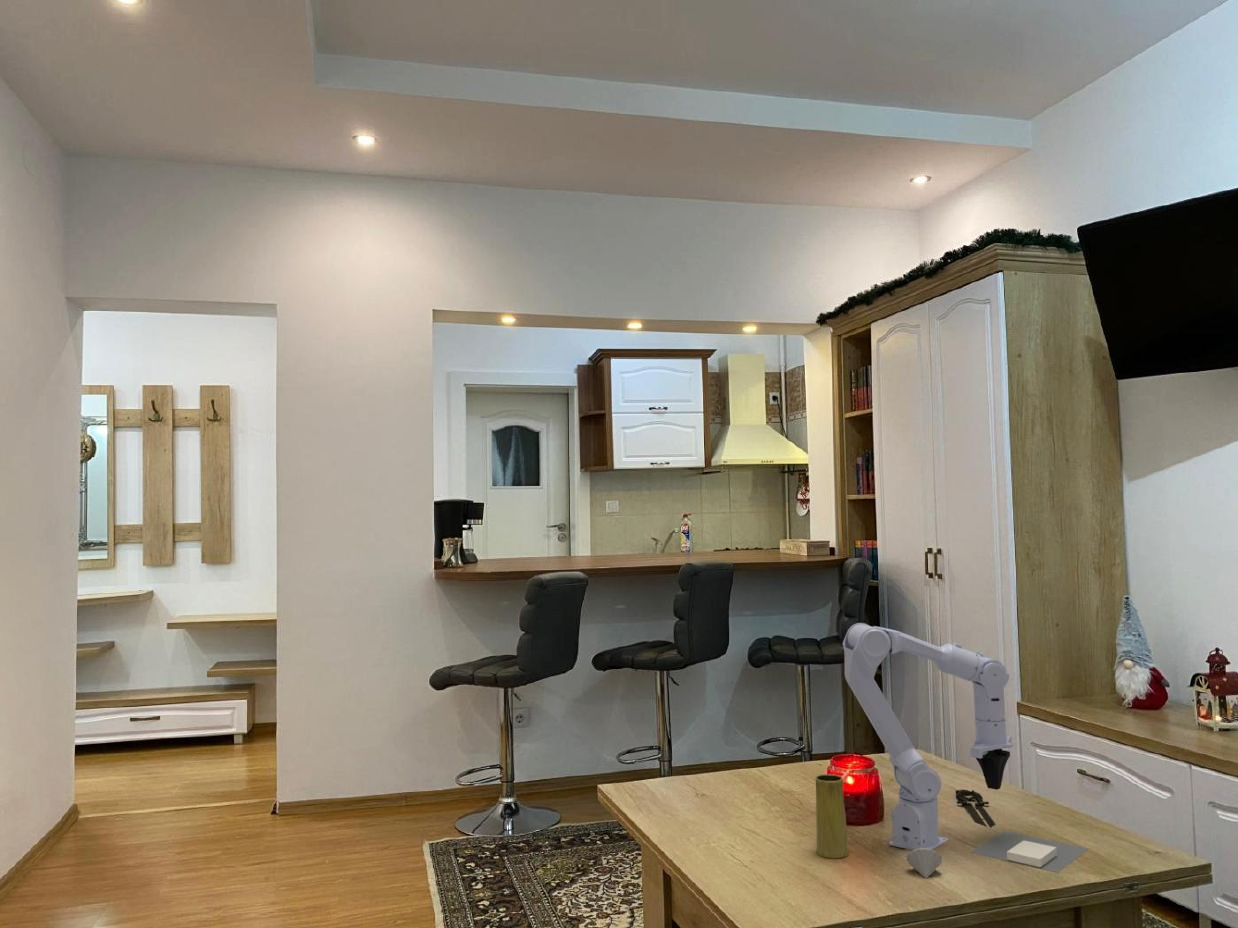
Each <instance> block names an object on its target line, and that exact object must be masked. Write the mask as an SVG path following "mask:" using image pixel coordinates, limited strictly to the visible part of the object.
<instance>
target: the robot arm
mask: <svg viewBox="0 0 1238 928" xmlns="http://www.w3.org/2000/svg"><path fill="white" fill-rule="evenodd" d="M842 646H843V651H844V678H845V681H846V683H847V684H848V686H849V688H850V689H851V691H852V692H853V695H854V697H856V699H857V701H858V703H859V705H860V706H861V708H862V709H863V711H864V713H865V715H866V716H867V718H868V720H869V722H870V724H871V725H872V727H873V728H874V730H875V732H876V735H877V736H878V737H879V739H880V741H881V742H882V745H883V746H884V748H885V749H886V752H887V753H888V755H889V761H890V763H891V764H892V766H893V767H892V768H893V776H894V779H895V780H896V783H898V785H900V786H899V789H898V803H897V804H896V805H895V806H894V807H893V809H892V812H891V827H892V828H891V829H892V840H890V841H888V845H889V846H894V847H897V848H901V849H905V850H911V851H913V850H915V849H920V848H927V849H930V850H933V851H934V849H936V848H938V847H939V846H941V845H943V844H944V843H946V842H949V839H948V838H946V837H941V836H940V826H939V806H938V795H939V794H940V792H941V789H942V780H941V777H940V775H939V774H938V772H937V771H936V770H935V769H933V768H931V767H930V766H929V765H928V763H927V762H926V761H925V759H924V758H923V757H922V756H921V754H920V752H918V750H917V749H916V748H915V746H914V745H913V743H912V742H911V740H910V738H909V736H908V735H907V733H906V731H905V730H904V728H903V725H901V723H900V721H899V720H898V718H897V715H896V714H895V713H894V710H893V709H892V708H891V705H890V704H889V703H888V701H887V698H886V696H885V695H884V693H883V692H882V691H881V688H880V687H879V685H878V683H877V682H876V680H875V676H876V672H877V669H878V667H879V665H881V663H882V662H883V661H884V659H885V658H886V657H887V655H888V654H891V655H894V654H897V653H900V652H904V653H908V654H910V655H914V656H918V657H920V658H923V659H926V660H930V661H932V662H934V663H935V665H936V667H937V669H938V670H939V672H940V671H941V672H942V673H946V674H947V675H951V676H954V677H957V678H959V679H961V680H965V681H968V682H972V684H973V685H972V686H973V705H974V706H973V709H974V725H975V740H974V742H973V744H972V746H969V748H970V751H969V752H970V757H971V758H975V759H976V761H977V762H978V764H979V766H980V769H981V771H982V774H983V778H984V780H985V784H986V787H987V789H991V790H996V791H998V790H1000V789H1001V786H1002V783H1003V777H1004V771H1005V768H1006V765H1007V762H1008V761H1009V758H1010V756H1011V752H1010V751H1009V750H1004V749H1011V748H1013V747H1014V744H1013V737H1012V735H1011V734H1007V722H1006V721H1007V720H1006V701H1005V687H1006V685H1007V684H1008V682H1009V679H1010V674H1009V673H1007V669H1006V667H1005V665H1004V664H1003V663H1002V662H1000V661H999V660H996V659H994V658H989V657H986V656H985V654H984V653H983V652H979V651H976V652H974V651H971V650H968V649H966V648H962V647H963V645H962V644H960V643H957V642H953V643H952V644H951V643H945V644H944V645H941V646H937V645H934V644H932V643H930V642H927V641H924V640H921V639H919V638H916V637H915V636H912V635H909V634H907V633H903V631H898V630H895V629H891V628H886V627H881V626H876V625H873V626H870V625H869V624H867V623H864V622H857V623H854V624H852V625H851V626H850V627H849V628H848V630H847V632H846V634H845V636H844V639H843V641H842Z"/></svg>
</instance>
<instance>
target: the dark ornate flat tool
mask: <svg viewBox="0 0 1238 928" xmlns="http://www.w3.org/2000/svg"><path fill="white" fill-rule="evenodd" d="M969 796H970V797H969ZM955 797H956V800H957V801H956V806H957V807H962V808H965V810H966V811H967V812H968V813H969V815H970V816H971V818H972V820H973V821H974V823H976V824H979V825H982V826H984V827H987V825H988V826H989V828H990V829H992V828H994V827H995V826H997V824H996V822H995V821H994V820H993V819H992V817H991V816H990V815H989V813H988V811H987V810H986V807H987V808H988V807H989V804H990V802H989V801H984V799H983V796H982V795H981V794H980V793H979V792H976V791H975V790H974V789H973V790H972V789H971V790H970V791H969V790H967V789H957V790H955ZM976 800H977V801H978V802H976ZM972 802H973V803H974V806H973V804H972ZM977 810H978V811H977ZM978 812H979V813H980V814H979V813H978ZM980 815H981V816H980ZM985 822H986V823H985Z"/></svg>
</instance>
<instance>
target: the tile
mask: <svg viewBox="0 0 1238 928" xmlns="http://www.w3.org/2000/svg"><path fill="white" fill-rule="evenodd" d="M1056 855H1057V847H1052V846H1048V845H1043V844H1038V843H1034V842H1029V841H1024V840H1023V841H1022V842H1020V843H1019V844H1017V845H1016V846H1014V847H1013V848H1011V849H1010V850H1009V851H1007V860H1009V861H1013V862H1017V863H1016V864H1018V863H1021V864H1020V865H1022V864H1026V865H1030V866H1029V867H1031V866H1034V867H1033V868H1035V867H1039V868H1041V867H1042V866H1043V865H1045V864H1046V863H1047V862H1049V861H1050V860H1051V859H1053V858H1054V857H1055V856H1056ZM1009 861H1008V862H1009ZM1013 862H1012V863H1013ZM1026 865H1025V866H1026ZM1039 868H1038V869H1039Z"/></svg>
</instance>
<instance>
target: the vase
mask: <svg viewBox="0 0 1238 928" xmlns="http://www.w3.org/2000/svg"><path fill="white" fill-rule="evenodd" d="M844 801H845V799H844V778H843V777H842V776H841V775H837V774H834V773H833V774H831V773H827V774H825V773H822V774H818V775H816V776H815V807H816V809H815V813H816V815H815V817H816V819H815V822H816V850H815V851H816V854H817V855H819V856H820V857H823V858H826V859H842V858H846V857H848V856H849V853H850V852H849V848H848V832H847V820H846V819H847V817H846V809H845V802H844Z"/></svg>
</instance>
